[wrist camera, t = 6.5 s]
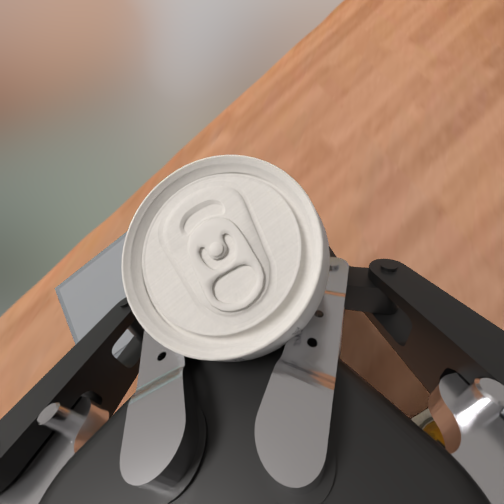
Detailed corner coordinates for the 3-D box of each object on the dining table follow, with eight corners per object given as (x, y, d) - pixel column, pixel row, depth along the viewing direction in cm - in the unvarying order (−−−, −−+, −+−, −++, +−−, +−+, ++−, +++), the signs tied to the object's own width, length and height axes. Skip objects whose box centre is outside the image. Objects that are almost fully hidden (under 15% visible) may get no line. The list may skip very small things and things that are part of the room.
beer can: (276, 243, 20) (259, 106, 5) (307, 292, 18) (407, 294, 4) (229, 270, 20) (86, 212, 5) (255, 322, 18) (149, 435, 4)
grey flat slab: (175, 202, 23) (169, 197, 22) (228, 275, 20) (224, 274, 19) (66, 288, 23) (53, 288, 22) (100, 376, 20) (88, 382, 18)
